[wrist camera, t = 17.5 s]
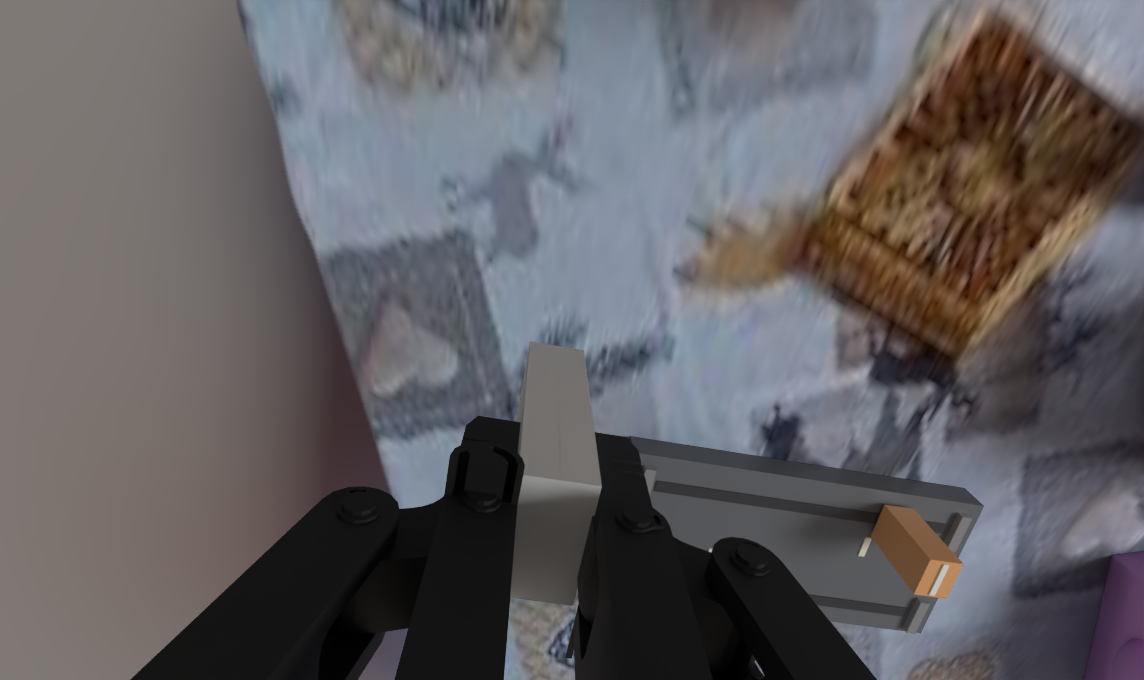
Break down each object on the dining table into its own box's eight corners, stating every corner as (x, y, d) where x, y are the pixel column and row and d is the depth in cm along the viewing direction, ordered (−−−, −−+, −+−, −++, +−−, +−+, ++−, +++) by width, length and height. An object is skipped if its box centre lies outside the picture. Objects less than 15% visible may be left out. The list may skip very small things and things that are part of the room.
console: (630, 436, 48) (635, 456, 45) (964, 488, 51) (988, 510, 48) (596, 570, 52) (599, 596, 50) (905, 611, 55) (924, 638, 52)
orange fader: (884, 504, 48) (931, 560, 42) (913, 508, 48) (964, 565, 42) (870, 536, 49) (914, 595, 43) (899, 540, 49) (947, 599, 43)
